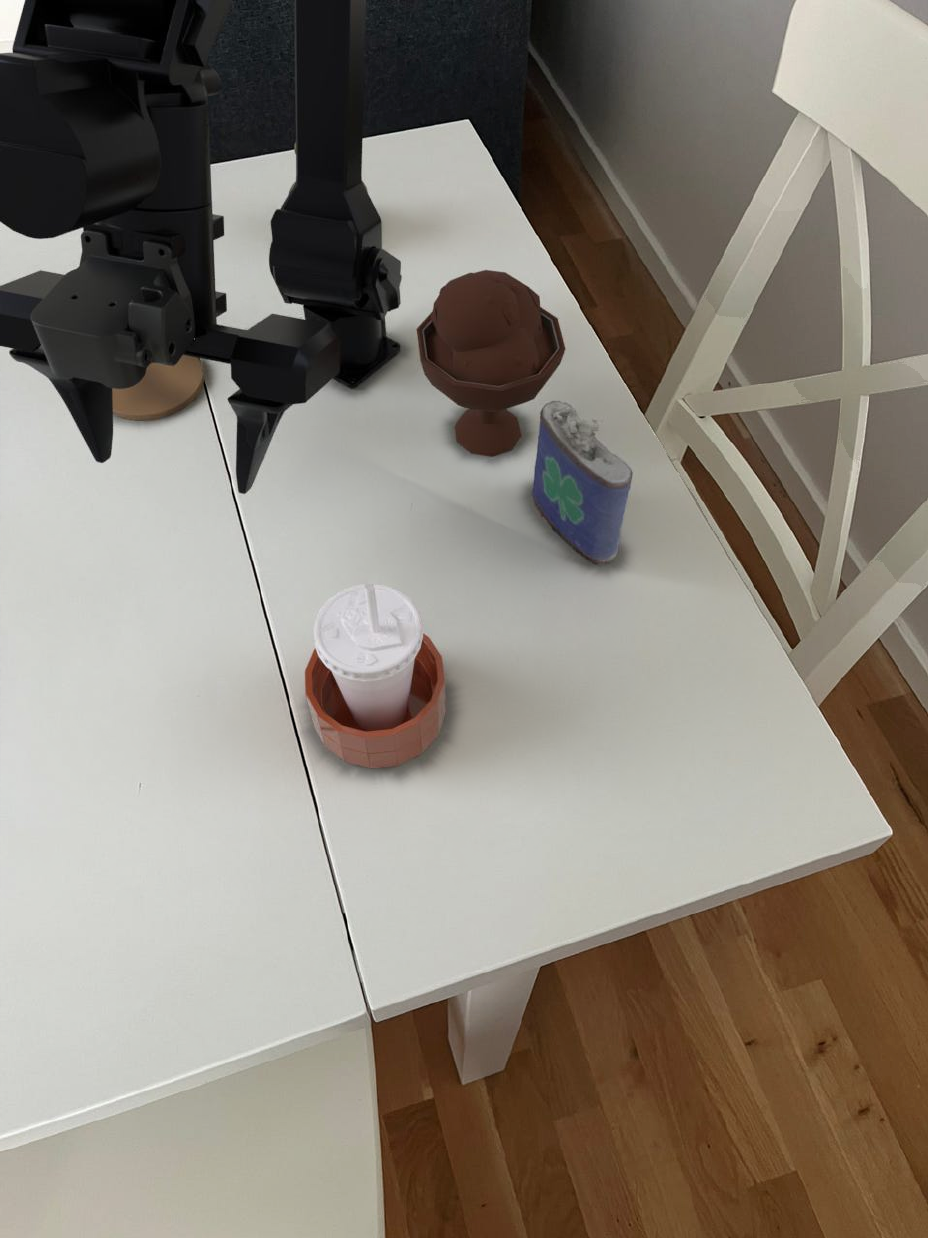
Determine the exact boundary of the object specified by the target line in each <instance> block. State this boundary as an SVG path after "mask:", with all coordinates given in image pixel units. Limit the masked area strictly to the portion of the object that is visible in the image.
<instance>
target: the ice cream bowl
mask: <svg viewBox="0 0 928 1238" xmlns="http://www.w3.org/2000/svg"><path fill="white" fill-rule="evenodd" d="M432 306H433V307H432V311H431V312H430V313H429V314H428V315H427V316H426V317H425V319H424V320H423V321H422V322H421V323H420V324H419V325H418V327H417V328H416V335H417V336H416V337H417V344H418V352H419V359H420V364H421V367H422V371H423V373H424V376H425V377H426V379H427V380H428V382H429V383H430V384H431V385H432V387H434V388H435V389H437V390H438V391H439V392H440V393H442V395H444V396H446V397H447V398H448V399H449V400H451V401H452V402H453V403H454V404H456V405H457V406H459V407H462V408H464V409H466V410H465V411H464V412H463V413H462V415H461V416H460V417H459V418H458V419H457V421H456V422H455V425H454V433H455V439H456V443H457V444H458V445H460V446H461V447H462V448H463V449H465V450H466V451H467V452H469V453H470V454H473V455H478V456H479V455H480V456H486V457H496V456H498V455H502V454H504V453H508V452H510V451H512V450H513V449H514V448H515V446H516V445H517V444H518V443H519V441H520V440H521V438H523V437H522V430H521V426H520V421H519V418H518V417H517V416H516V415H515V414H514V413H512V412H511V411H509V410H508V409H511V408H513V407H517V406H519V405H523V404H525V403H528V402H530V401H533V400H535V399H536V397H537V396H538V395H539V394H540V392H541V391H542V389H543V388H544V387H545V385H546V384H547V382H548V381H549V380H550V379H551V377H552V376H553V375H554V373H555V372H556V371H557V369H558V368H559V366H560V365H561V363H562V360H563V357H564V354H565V352H566V345H565V341H564V338H563V334H562V329H561V325H560V323H559V317H557V316H555V315H554V314H552V313H550V312H549V311H548V310H546V309H545V308H543V307H542V306H541V297H540V295H539V294H538V293H537V292H536V291H534V290H533V289H532V288H531V287H529V286H528V285H526V284H525V283H523V282H522V281H520V280H519V279H517V278H515V277H513V276H512V275H511V274H509V273H507V272H505V271H497V270H490V269H483V270H480V271H476V272H468V273H465V274H463V275H460V276H458V277H455V278H453V279H450V280H449V281H448V282H447V283H446V284H445V285H444V286H442V287H441V288H440V290H439V293H438V296H437V298H436V299H435V301H434V302H433V305H432Z"/></svg>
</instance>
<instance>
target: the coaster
mask: <svg viewBox="0 0 928 1238" xmlns="http://www.w3.org/2000/svg"><path fill="white" fill-rule="evenodd" d="M204 384H205V370H204V368H203V364H202V362H201V360H200V358H197V357H192V356H187V355H182V357H181V358H180V360H179V361H178V362H177V364H176V365H175V366H169V365H164V364H159V363H151V364H150V365H149V366H148V367H147V369H146V374H145V376H144V377H143V378H142V380H141V381H140V382H139V383H138V384H136V385H134V386H132V387H130V388H125V389H115V388H112V394H113V416H117V417H119V418H123V419H126V420H131V421H132V420H133V421H150V420H156V419H161V418H164V417H168V416H171V415H173V414H176V413H177V412H179V411H182V410H183V409H184V408H186V407H188V406H189V405H190V404H191V403H192V402H194V400H195V399H196V398H197V397H198V395H199V394H200V393H201V391H202V388H203V386H204Z"/></svg>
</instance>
